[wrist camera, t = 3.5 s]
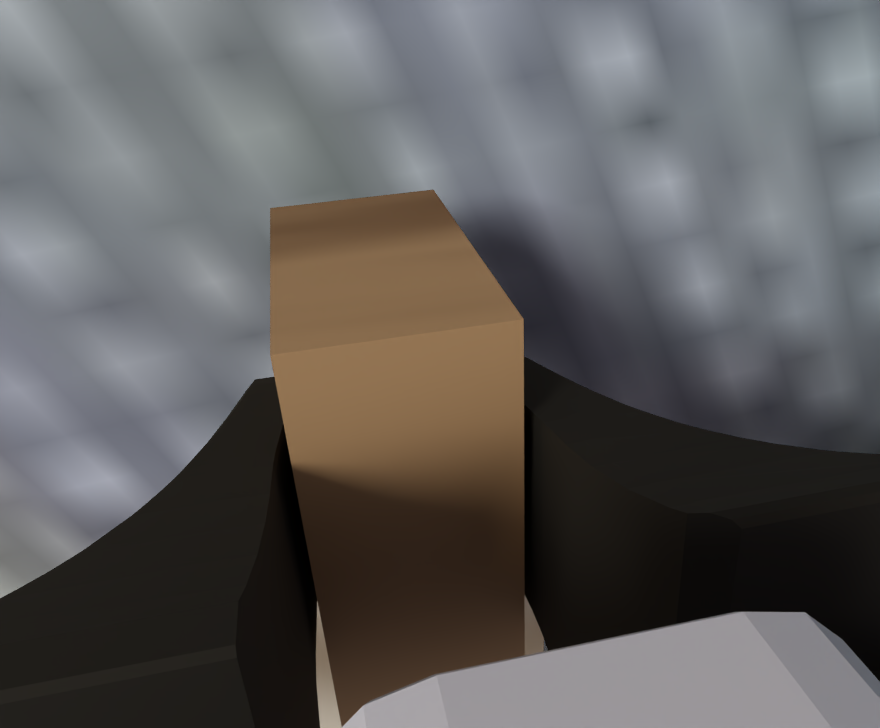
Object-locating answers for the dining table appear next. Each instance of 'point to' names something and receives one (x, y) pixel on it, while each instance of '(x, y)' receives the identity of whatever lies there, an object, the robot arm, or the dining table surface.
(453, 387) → the tall cardboard box
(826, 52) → the dining table surface
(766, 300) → the dining table surface
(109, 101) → the dining table surface
